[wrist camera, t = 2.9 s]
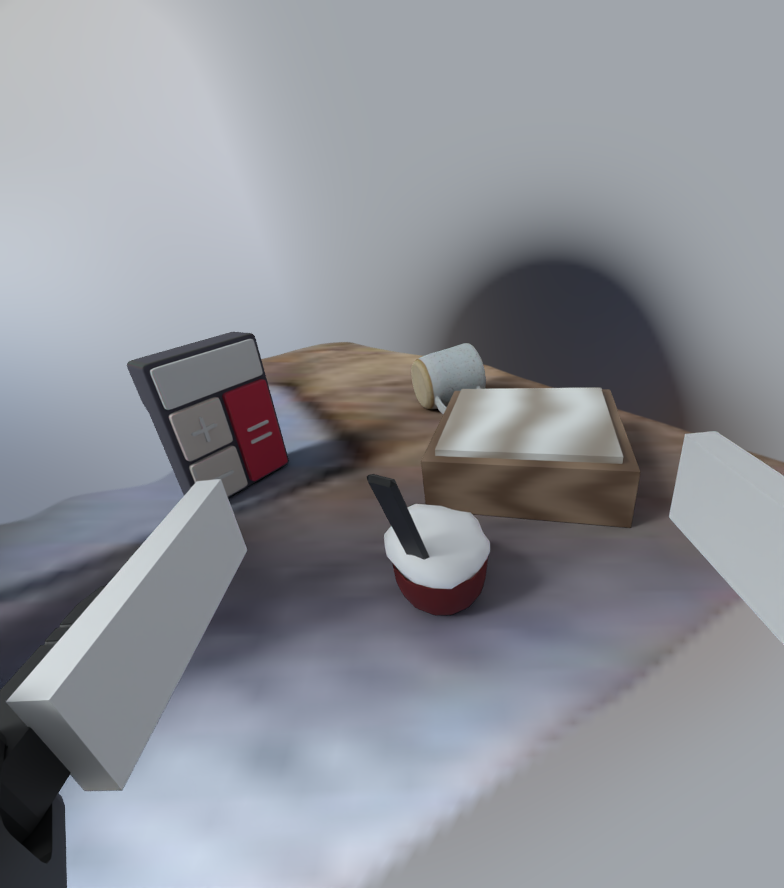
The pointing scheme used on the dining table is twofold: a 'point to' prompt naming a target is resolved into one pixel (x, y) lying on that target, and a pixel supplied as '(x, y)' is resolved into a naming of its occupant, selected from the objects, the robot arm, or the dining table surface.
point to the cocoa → (432, 551)
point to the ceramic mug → (446, 375)
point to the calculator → (212, 411)
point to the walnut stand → (533, 456)
